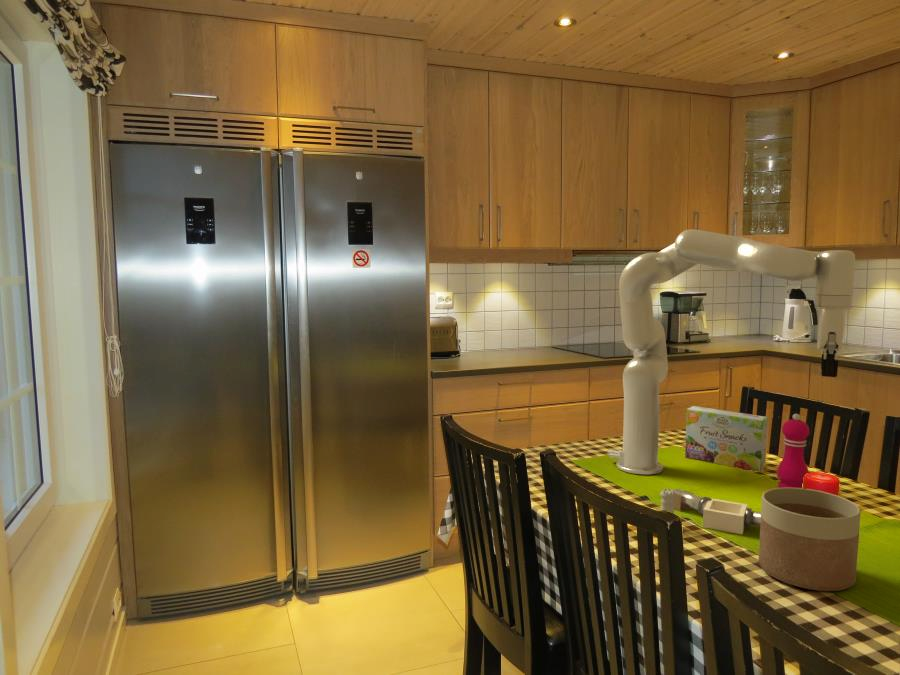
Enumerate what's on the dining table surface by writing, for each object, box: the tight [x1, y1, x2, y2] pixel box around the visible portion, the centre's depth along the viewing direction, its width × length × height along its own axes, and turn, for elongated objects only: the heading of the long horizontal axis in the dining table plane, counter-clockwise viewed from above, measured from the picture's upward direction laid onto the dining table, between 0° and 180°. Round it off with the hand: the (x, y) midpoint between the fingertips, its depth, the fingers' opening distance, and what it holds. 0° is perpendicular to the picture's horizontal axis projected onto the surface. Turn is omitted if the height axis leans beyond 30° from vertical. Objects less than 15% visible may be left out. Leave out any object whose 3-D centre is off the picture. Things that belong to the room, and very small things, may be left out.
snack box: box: [684, 405, 769, 473], centre depth 188 cm, size 21×6×15 cm, turn 49°
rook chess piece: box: [659, 488, 676, 514], centre depth 143 cm, size 4×4×8 cm
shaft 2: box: [744, 507, 761, 528], centre depth 140 cm, size 9×4×4 cm, turn 60°
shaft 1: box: [673, 488, 712, 515], centre depth 152 cm, size 9×4×4 cm, turn 30°
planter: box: [758, 487, 862, 592], centre depth 121 cm, size 16×16×14 cm
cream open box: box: [702, 498, 748, 535], centre depth 144 cm, size 8×8×4 cm
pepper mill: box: [776, 413, 810, 488], centre depth 164 cm, size 7×7×20 cm
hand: (828, 373), depth 158 cm, fingers open, 9 cm apart
